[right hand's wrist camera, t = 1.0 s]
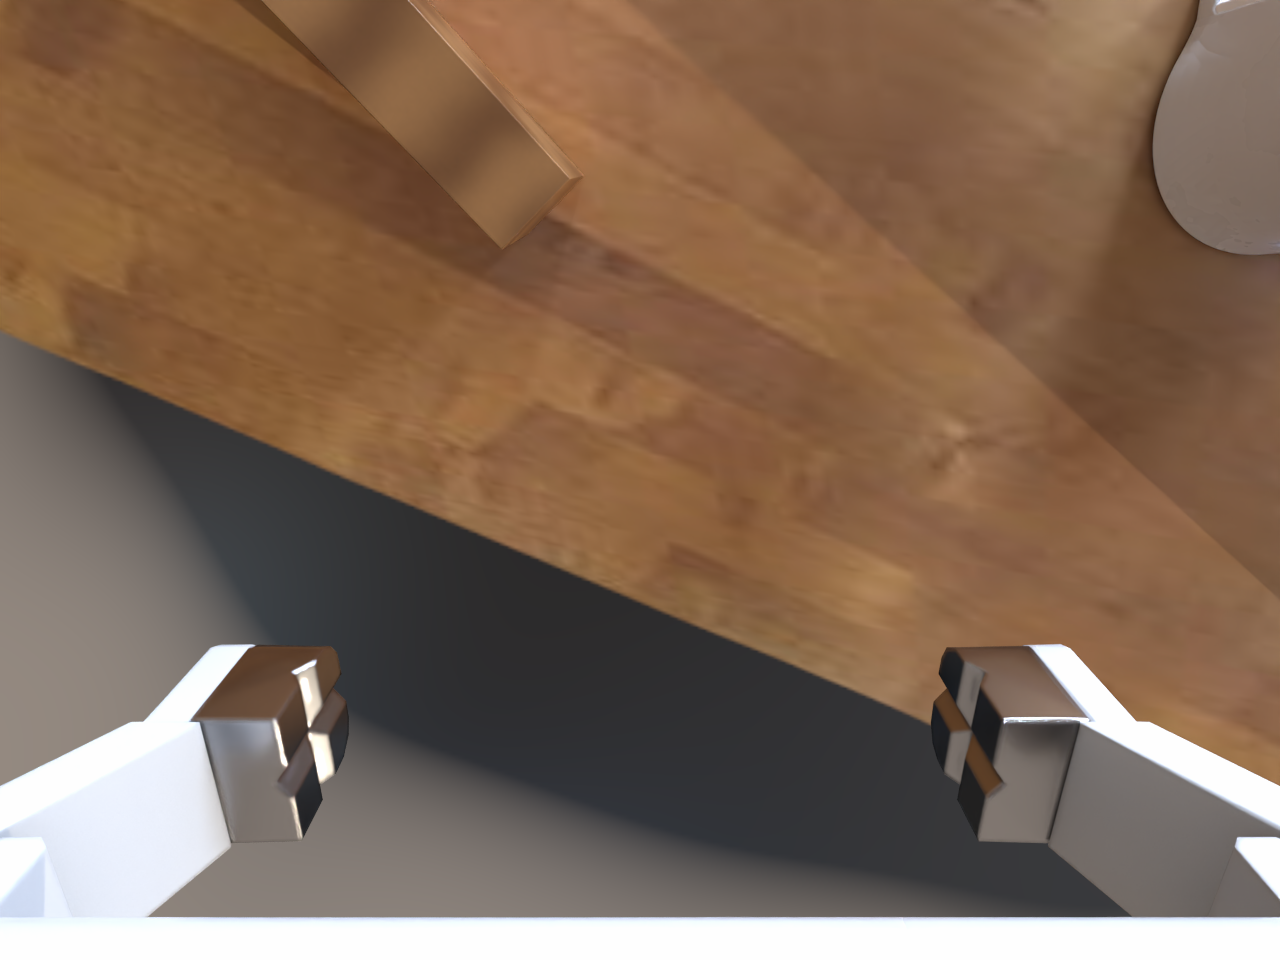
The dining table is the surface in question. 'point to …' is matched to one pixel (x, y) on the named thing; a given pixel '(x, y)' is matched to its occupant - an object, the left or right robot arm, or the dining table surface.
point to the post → (439, 107)
